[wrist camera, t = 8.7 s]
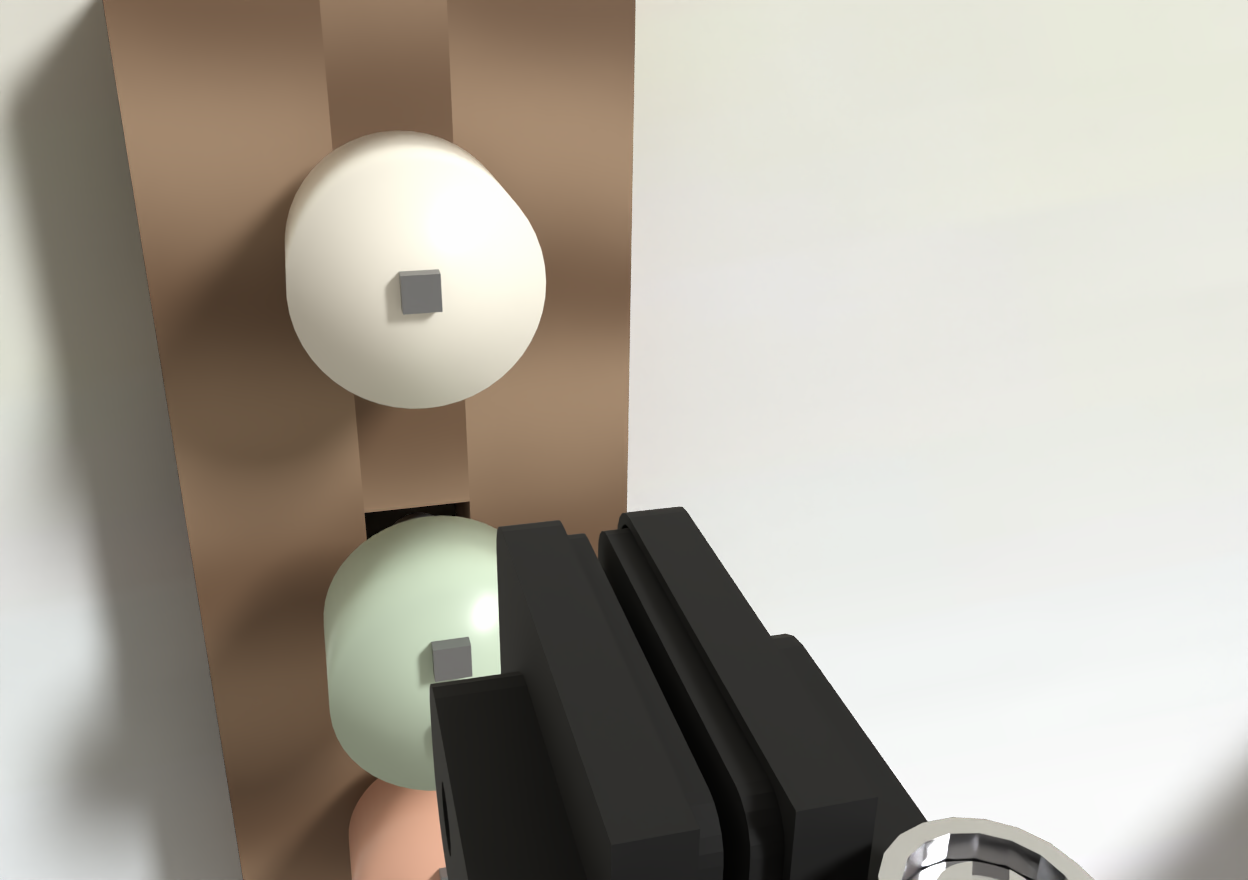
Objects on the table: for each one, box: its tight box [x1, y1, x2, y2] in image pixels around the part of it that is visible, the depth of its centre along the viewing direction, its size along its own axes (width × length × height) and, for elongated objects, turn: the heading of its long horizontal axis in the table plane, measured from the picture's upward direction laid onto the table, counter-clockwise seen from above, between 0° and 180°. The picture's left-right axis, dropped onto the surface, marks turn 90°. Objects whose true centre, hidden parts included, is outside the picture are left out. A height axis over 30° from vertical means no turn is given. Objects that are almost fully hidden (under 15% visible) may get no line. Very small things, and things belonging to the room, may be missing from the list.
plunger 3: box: [349, 778, 448, 880], centre depth 29 cm, size 5×5×7 cm
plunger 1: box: [285, 131, 546, 409], centre depth 23 cm, size 5×5×7 cm
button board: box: [103, 0, 635, 880], centre depth 28 cm, size 25×10×3 cm, turn 1°
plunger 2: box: [323, 512, 501, 791], centre depth 25 cm, size 5×5×7 cm
